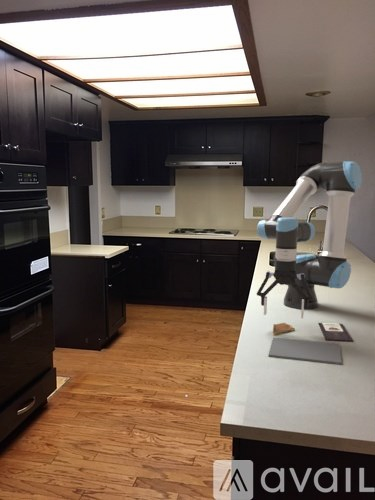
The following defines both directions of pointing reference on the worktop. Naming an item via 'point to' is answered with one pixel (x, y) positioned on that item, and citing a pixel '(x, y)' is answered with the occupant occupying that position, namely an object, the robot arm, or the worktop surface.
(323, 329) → the chocolate bar
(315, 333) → the worktop surface
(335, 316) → the worktop surface
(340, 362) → the rubber mat
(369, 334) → the worktop surface
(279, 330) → the shard
